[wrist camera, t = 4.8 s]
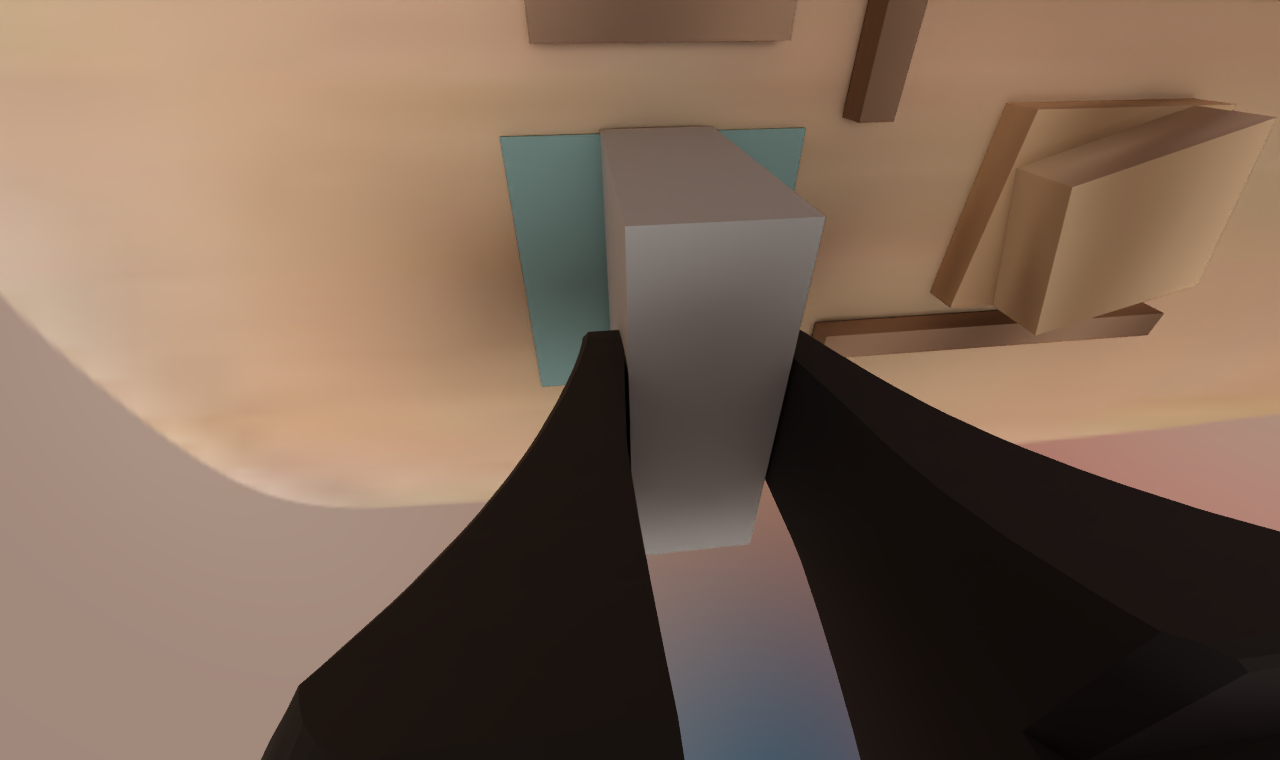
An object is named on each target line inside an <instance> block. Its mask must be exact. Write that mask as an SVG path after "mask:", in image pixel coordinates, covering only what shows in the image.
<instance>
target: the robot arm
mask: <svg viewBox="0 0 1280 760" xmlns="http://www.w3.org/2000/svg"><path fill="white" fill-rule="evenodd" d="M765 480H766V482H767V484H768V486H769V488H770V491H771V493H772V495H773V498H774V500H775V502H776V504H777V506H778V509H779V511H780V513H781V515H782V518H783V520H784V522H785V524H786V526H787V529H788V531H789V533H790V535H791V537H792V540H793V542H794V545H795V547H796V549H797V552H798V554H799V557H800V560H801V562H802V565H803V568H804V571H805V574H806V577H807V580H808V583H809V586H810V589H811V592H812V595H813V598H814V601H815V604H816V607H817V610H818V613H819V616H820V620H821V623H822V626H823V629H824V633H825V636H826V639H827V642H828V646H829V649H830V652H831V655H832V658H833V662H834V665H835V668H836V672H837V675H838V679H839V683H840V686H841V690H842V693H843V697H844V700H845V704H846V707H847V711H848V714H849V718H850V721H851V725H852V728H853V732H854V735H855V739H856V743H857V747H858V751H859V755H860V759H861V760H1280V532H1279V531H1276V530H1272V529H1268V528H1265V527H1261V526H1257V525H1254V524H1250V523H1247V522H1243V521H1240V520H1236V519H1233V518H1229V517H1225V516H1222V515H1218V514H1214V513H1211V512H1208V511H1204V510H1201V509H1197V508H1194V507H1191V506H1188V505H1185V504H1182V503H1179V502H1176V501H1172V500H1169V499H1166V498H1163V497H1160V496H1157V495H1154V494H1150V493H1148V492H1144V491H1141V490H1138V489H1135V488H1132V487H1129V486H1126V485H1123V484H1120V483H1117V482H1114V481H1111V480H1108V479H1106V478H1103V477H1100V476H1097V475H1094V474H1091V473H1088V472H1086V471H1082V470H1080V469H1077V468H1075V467H1072V466H1069V465H1067V464H1064V463H1061V462H1059V461H1056V460H1054V459H1051V458H1049V457H1046V456H1043V455H1041V454H1038V453H1035V452H1033V451H1030V450H1028V449H1025V448H1023V447H1020V446H1018V445H1015V444H1013V443H1011V442H1008V441H1006V440H1003V439H1001V438H999V437H996V436H994V435H992V434H989V433H987V432H985V431H983V430H981V429H978V428H976V427H974V426H972V425H970V424H968V423H965V422H963V421H961V420H959V419H957V418H954V417H952V416H950V415H948V414H946V413H944V412H942V411H940V410H938V409H936V408H934V407H932V406H930V405H928V404H926V403H924V402H922V401H920V400H918V399H916V398H915V397H913V396H911V395H909V394H907V393H905V392H904V391H902V390H900V389H898V388H896V387H894V386H892V385H891V384H889V383H887V382H885V381H884V380H882V379H880V378H878V377H877V376H875V375H873V374H871V373H870V372H868V371H866V370H865V369H863V368H861V367H860V366H858V365H856V364H855V363H853V362H851V361H850V360H848V359H847V358H845V357H843V356H842V355H840V354H838V353H837V352H835V351H834V350H832V349H830V348H829V347H827V346H826V345H824V344H822V343H821V342H819V341H818V340H816V339H814V338H813V337H811V336H809V335H808V334H806V333H805V332H803V331H801V330H799V335H798V339H797V343H796V348H795V352H794V356H793V360H792V365H791V369H790V373H789V378H788V382H787V386H786V390H785V395H784V399H783V403H782V408H781V412H780V416H779V420H778V425H777V429H776V433H775V438H774V442H773V446H772V451H771V455H770V459H769V463H768V468H767V472H766V476H765ZM261 760H684V754H683V747H682V741H681V734H680V727H679V721H678V715H677V710H676V706H675V700H674V695H673V691H672V686H671V681H670V676H669V672H668V667H667V663H666V657H665V652H664V647H663V642H662V637H661V632H660V627H659V621H658V616H657V611H656V607H655V601H654V596H653V591H652V586H651V581H650V575H649V570H648V564H647V559H646V553H645V548H644V543H643V537H642V532H641V526H640V521H639V515H638V509H637V503H636V497H635V491H634V485H633V479H632V473H631V467H630V461H629V454H628V443H627V412H626V381H625V352H624V347H623V343H622V338H621V335H620V331H619V330H608V331H592V332H588V333H587V334H586V335H585V336H584V337H583V339H582V344H581V348H580V351H579V354H578V357H577V360H576V362H575V365H574V367H573V370H572V372H571V374H570V376H569V379H568V381H567V383H566V385H565V387H564V389H563V391H562V393H561V395H560V397H559V399H558V401H557V403H556V405H555V406H554V408H553V410H552V411H551V413H550V415H549V417H548V418H547V420H546V422H545V423H544V425H543V427H542V428H541V430H540V432H539V433H538V435H537V437H536V438H535V440H534V441H533V443H532V444H531V446H530V447H529V449H528V450H527V452H526V453H525V454H524V456H523V457H522V459H521V460H520V461H519V463H518V464H517V466H516V467H515V468H514V470H513V471H512V472H511V474H510V475H509V476H508V478H507V479H506V480H505V482H504V483H503V484H502V485H501V486H500V488H499V489H498V490H497V491H496V493H495V494H494V495H493V496H492V497H491V499H490V500H489V501H488V502H487V504H486V505H485V506H484V507H483V508H482V510H481V511H480V512H479V513H478V514H477V515H476V517H475V518H474V519H473V520H472V521H471V522H470V523H469V525H468V526H467V527H466V528H465V529H464V530H463V531H462V532H461V533H460V534H459V535H458V536H457V538H456V539H455V540H454V541H453V542H452V543H451V544H450V545H449V546H448V547H447V548H446V549H445V550H444V551H443V552H442V553H441V554H440V555H439V556H438V557H437V558H436V559H435V560H434V561H433V562H432V563H431V564H430V565H429V566H428V567H427V568H426V569H425V570H424V572H422V574H421V575H420V576H419V577H418V578H417V579H416V580H415V581H414V582H413V583H412V584H411V585H410V586H409V587H408V588H407V589H406V590H405V591H404V592H402V593H401V594H400V595H399V596H398V597H397V598H396V599H395V600H394V601H393V602H392V603H391V604H390V605H389V606H388V607H386V608H385V609H384V610H383V611H382V612H381V613H380V614H379V615H378V616H376V617H375V618H374V619H373V620H372V621H371V622H370V623H369V624H368V625H366V626H365V627H364V628H363V629H362V630H361V631H360V632H359V633H358V634H356V635H355V636H354V637H353V638H352V639H351V640H350V641H349V642H348V643H346V644H345V645H344V646H343V647H342V648H341V649H340V650H339V651H338V652H336V653H335V654H334V655H333V656H332V657H331V658H330V659H329V660H328V661H326V662H325V663H324V664H323V665H322V666H321V667H320V668H319V669H317V670H316V671H315V672H314V673H313V674H312V675H310V676H309V677H308V678H307V679H306V680H305V681H303V682H302V683H301V684H300V685H299V686H298V688H297V690H296V692H295V695H294V697H293V699H292V701H291V703H290V705H289V707H288V709H287V711H286V713H285V715H284V716H283V718H282V720H281V722H280V723H279V725H278V727H277V729H276V731H275V733H274V734H273V736H272V738H271V740H270V742H269V744H268V746H267V748H266V750H265V752H264V755H263V757H262V759H261Z"/></svg>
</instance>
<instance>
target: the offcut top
mask: <svg viewBox="0 0 1280 760" xmlns="http://www.w3.org/2000/svg"><path fill="white" fill-rule="evenodd" d="M1276 118H1277V117H1270V116H1263V115H1257V114H1250V113H1243V112H1237V111H1230V110H1223V109H1216V108H1210V107H1203V106H1193V107H1190V108H1187V109H1184V110H1181V111H1178V112H1176V113H1173V114H1170V115H1167V116H1164V117H1161V118H1158V119H1156V120H1153V121H1150V122H1147V123H1144V124H1141V125H1138V126H1136V127H1133V128H1130V129H1127V130H1124V131H1121V132H1118V133H1116V134H1113V135H1110V136H1107V137H1104V138H1101V139H1098V140H1096V141H1093V142H1090V143H1087V144H1084V145H1081V146H1078V147H1076V148H1073V149H1070V150H1067V151H1064V152H1061V153H1058V154H1056V155H1053V156H1050V157H1047V158H1044V159H1041V160H1038V161H1036V162H1033V163H1030V164H1027V165H1024V166H1021V167H1018V168H1017V170H1016V176H1015V182H1014V188H1013V194H1012V199H1011V205H1010V211H1009V217H1008V223H1007V228H1006V234H1005V240H1004V246H1003V252H1002V257H1001V263H1000V269H999V275H998V281H997V286H996V292H995V298H994V304H993V306H994V307H995V308H997V309H998V310H999V311H1001V312H1002V313H1004V314H1005V315H1007V316H1008V317H1010V318H1011V319H1012V320H1014V321H1015V322H1017V323H1018V324H1020V325H1021V326H1022V327H1024V328H1025V329H1027V330H1028V331H1030V332H1031V333H1033V334H1034V335H1039V334H1042V333H1045V332H1048V331H1051V330H1055V329H1058V328H1061V327H1064V326H1067V325H1071V324H1074V323H1077V322H1080V321H1083V320H1087V319H1090V318H1093V317H1096V316H1099V315H1103V314H1106V313H1109V312H1112V311H1115V310H1119V309H1122V308H1125V307H1128V306H1131V305H1135V304H1138V303H1141V302H1144V301H1147V300H1151V299H1154V298H1157V297H1160V296H1163V295H1167V294H1170V293H1173V292H1176V291H1179V290H1183V289H1186V288H1189V287H1192V286H1195V285H1198V283H1199V281H1200V278H1201V276H1202V274H1203V272H1204V270H1205V268H1206V266H1207V264H1208V262H1209V259H1210V257H1211V255H1212V253H1213V251H1214V249H1215V247H1216V245H1217V243H1218V240H1219V238H1220V236H1221V234H1222V232H1223V230H1224V228H1225V226H1226V224H1227V221H1228V219H1229V217H1230V215H1231V213H1232V211H1233V209H1234V207H1235V205H1236V203H1237V200H1238V198H1239V196H1240V194H1241V192H1242V190H1243V188H1244V186H1245V184H1246V181H1247V179H1248V177H1249V175H1250V173H1251V171H1252V169H1253V167H1254V165H1255V162H1256V160H1257V158H1258V156H1259V154H1260V152H1261V150H1262V148H1263V146H1264V144H1265V141H1266V139H1267V137H1268V135H1269V133H1270V131H1271V129H1272V127H1273V125H1274V122H1275V120H1276Z"/></svg>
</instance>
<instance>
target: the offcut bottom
mask: <svg viewBox="0 0 1280 760" xmlns="http://www.w3.org/2000/svg"><path fill="white" fill-rule="evenodd" d="M1236 105H1237V104H1229V103H1222V102H1215V101H1207V100H1200V99H1152V100H1111V101H1071V102H1030V103H1006V105H1005V108H1004V110H1003V113H1002V115H1001V118H1000V120H999V123H998V125H997V128H996V130H995V133H994V135H993V138H992V140H991V142H990V145H989V147H988V150H987V152H986V155H985V157H984V160H983V162H982V165H981V167H980V170H979V172H978V175H977V177H976V180H975V182H974V185H973V187H972V190H971V192H970V195H969V197H968V200H967V202H966V204H965V207H964V209H963V212H962V214H961V217H960V219H959V222H958V224H957V227H956V229H955V232H954V234H953V237H952V239H951V242H950V244H949V247H948V249H947V252H946V254H945V257H944V259H943V262H942V264H941V266H940V269H939V271H938V274H937V276H936V279H935V281H934V284H933V286H932V289H931V291H930V293H932V294H933V295H934V296H936V297H937V298H938V299H939V300H941V301H942V302H943V303H945V304H946V305H947V306H948V307H950V308H955V307H970V306H986V305H993V304H994V298H995V292H996V286H997V281H998V275H999V269H1000V263H1001V257H1002V252H1003V246H1004V240H1005V234H1006V228H1007V223H1008V217H1009V211H1010V205H1011V199H1012V194H1013V188H1014V182H1015V176H1016V170H1017V168H1018V167H1021V166H1024V165H1027V164H1030V163H1033V162H1036V161H1038V160H1041V159H1044V158H1047V157H1050V156H1053V155H1056V154H1058V153H1061V152H1064V151H1067V150H1070V149H1073V148H1076V147H1078V146H1081V145H1084V144H1087V143H1090V142H1093V141H1096V140H1098V139H1101V138H1104V137H1107V136H1110V135H1113V134H1116V133H1118V132H1121V131H1124V130H1127V129H1130V128H1133V127H1136V126H1138V125H1141V124H1144V123H1147V122H1150V121H1153V120H1156V119H1158V118H1161V117H1164V116H1167V115H1170V114H1173V113H1176V112H1178V111H1181V110H1184V109H1187V108H1190V107H1193V106H1203V107H1210V108H1216V109H1223V110H1230V111H1233V109H1234V108H1235V106H1236Z"/></svg>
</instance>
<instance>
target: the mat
mask: <svg viewBox="0 0 1280 760" xmlns="http://www.w3.org/2000/svg"><path fill="white" fill-rule="evenodd" d="M805 129H806V128H804V127H802V128H768V129H735V130H718V131H719V132H720V133H721V134H723V135H724V136H725V137H726V138H728V139H729V140H730V141H731V142H733V143H734V144H735V145H736V146H738V147H739V148H740V149H741V150H743V151H744V152H745V153H746V154H748V155H749V156H750V157H751V158H753V159H754V160H755V161H757V162H758V163H759V164H760V165H762V166H763V167H764V168H765V169H767V170H768V171H769V172H770V173H772V174H773V175H774V176H775V177H777V178H778V179H779V180H780V181H782V182H783V183H784V184H785V185H787V186H788V187H789V188H790V189H792V190H793V191H794V189H795V184H796V178H797V173H798V168H799V162H800V157H801V151H802V146H803V140H804V135H805ZM500 142H501V148H502V154H503V160H504V166H505V172H506V178H507V183H508V189H509V195H510V201H511V207H512V213H513V219H514V225H515V231H516V237H517V243H518V249H519V254H520V260H521V266H522V272H523V278H524V284H525V290H526V296H527V302H528V308H529V314H530V320H531V326H532V331H533V337H534V343H535V349H536V355H537V361H538V367H539V373H540V379H541V385H542V387H546V386H559V385H566V383H567V381H568V379H569V376H570V374H571V372H572V370H573V367H574V365H575V362H576V360H577V357H578V354H579V351H580V348H581V344H582V339H583V337H584V336H585V335H586V334H587V333H588V332H592V331H608V330H610V313H609V294H608V275H607V256H606V237H605V217H604V198H603V179H602V160H601V141H600V134H568V135H535V136H502V137H500Z"/></svg>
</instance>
